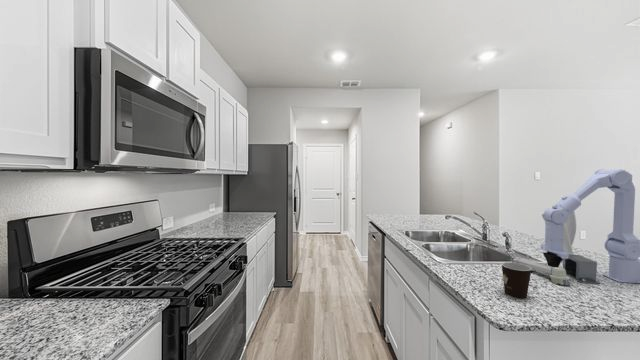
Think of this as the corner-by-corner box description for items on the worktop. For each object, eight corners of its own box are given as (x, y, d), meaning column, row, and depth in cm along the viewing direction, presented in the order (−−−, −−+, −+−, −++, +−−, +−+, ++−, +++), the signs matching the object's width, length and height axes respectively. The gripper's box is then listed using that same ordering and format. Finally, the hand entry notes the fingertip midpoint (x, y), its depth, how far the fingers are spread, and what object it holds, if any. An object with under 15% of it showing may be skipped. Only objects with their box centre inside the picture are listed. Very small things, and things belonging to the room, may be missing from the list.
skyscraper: (581, 263, 134) (583, 203, 133) (564, 263, 134) (566, 203, 133) (566, 257, 142) (568, 201, 141) (549, 257, 142) (551, 201, 141)
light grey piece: (520, 256, 133) (572, 266, 108) (522, 271, 132) (574, 285, 107) (510, 256, 132) (559, 267, 107) (511, 271, 132) (561, 285, 107)
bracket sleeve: (574, 271, 123) (574, 253, 123) (601, 284, 109) (602, 264, 109) (557, 270, 124) (557, 252, 124) (581, 283, 110) (582, 263, 110)
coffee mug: (532, 302, 94) (532, 272, 94) (501, 296, 99) (501, 267, 98) (528, 289, 104) (529, 262, 104) (500, 284, 109) (501, 258, 108)
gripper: (533, 233, 125) (532, 264, 125) (554, 242, 110) (553, 276, 111) (551, 234, 124) (550, 265, 124) (575, 242, 109) (573, 278, 110)
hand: (553, 271), depth 117 cm, fingers closed
